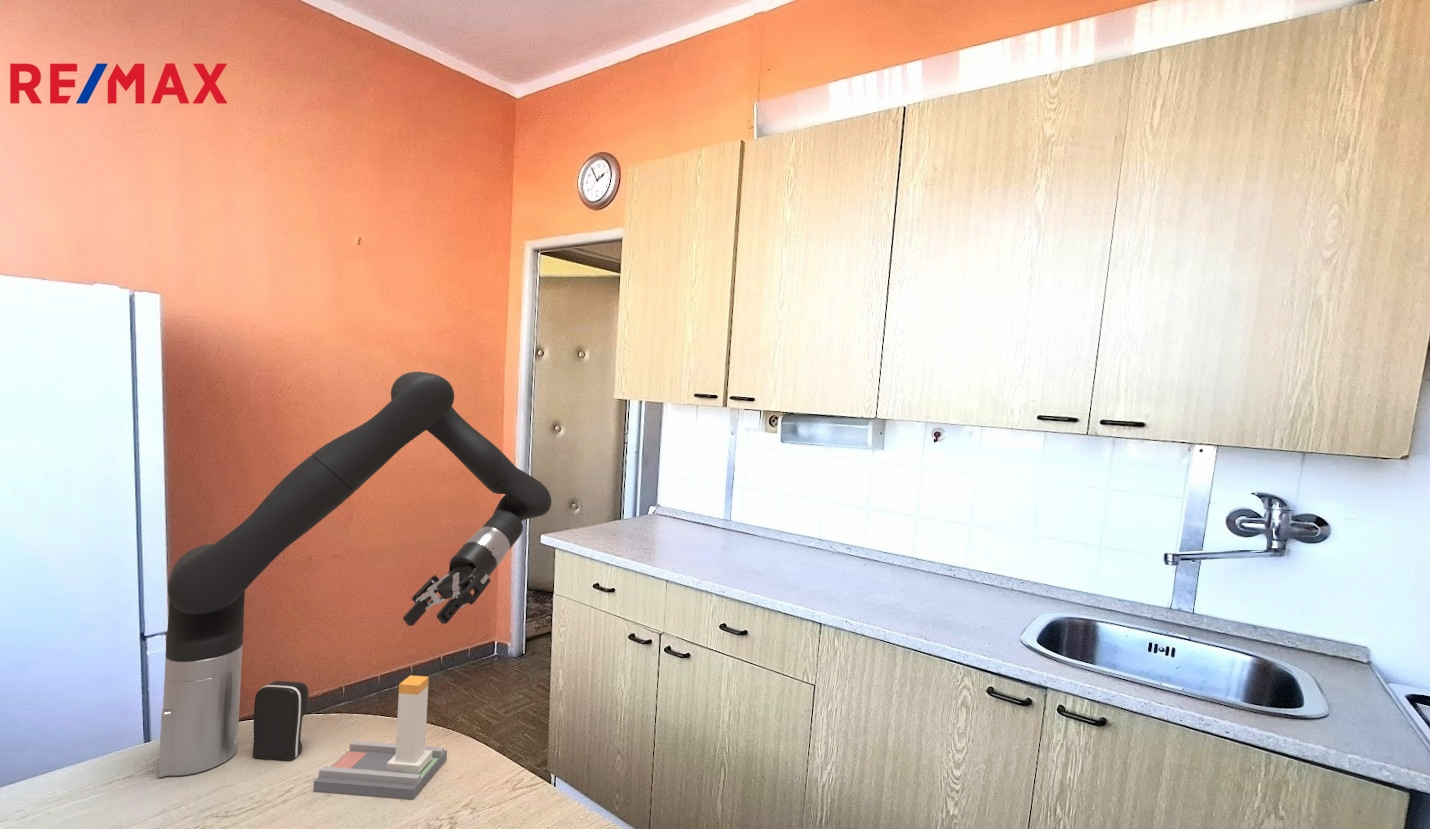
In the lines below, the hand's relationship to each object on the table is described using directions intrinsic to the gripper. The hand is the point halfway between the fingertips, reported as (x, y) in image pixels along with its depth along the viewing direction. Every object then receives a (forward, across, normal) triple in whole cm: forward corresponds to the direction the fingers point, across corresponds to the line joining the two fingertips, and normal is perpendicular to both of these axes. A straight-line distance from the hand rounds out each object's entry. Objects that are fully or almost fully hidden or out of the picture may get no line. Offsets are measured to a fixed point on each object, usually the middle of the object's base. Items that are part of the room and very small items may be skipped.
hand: (423, 621), depth 101 cm
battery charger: (+20, -20, +7) cm, 29 cm away
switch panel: (+18, -2, +13) cm, 23 cm away
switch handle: (+17, +3, +13) cm, 21 cm away
